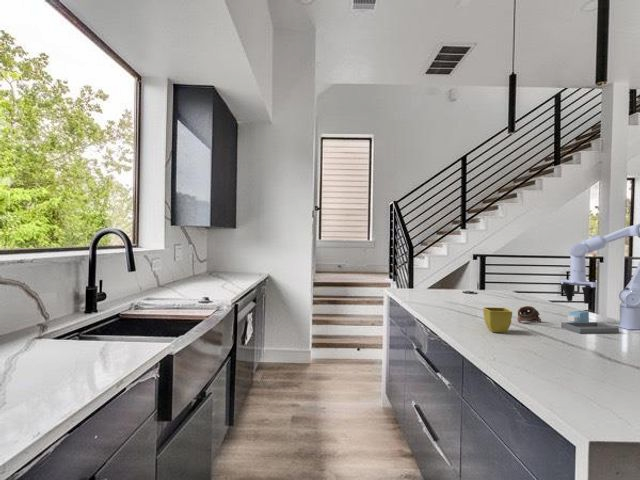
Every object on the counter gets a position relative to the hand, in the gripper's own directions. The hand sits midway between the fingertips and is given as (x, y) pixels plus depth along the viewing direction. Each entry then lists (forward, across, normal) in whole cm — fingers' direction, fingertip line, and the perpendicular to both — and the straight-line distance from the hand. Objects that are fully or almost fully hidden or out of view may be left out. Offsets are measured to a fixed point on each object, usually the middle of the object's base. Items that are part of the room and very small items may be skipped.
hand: (578, 302), depth 176 cm
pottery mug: (+10, -11, -17) cm, 22 cm away
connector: (+9, 0, +1) cm, 9 cm away
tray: (+9, +10, -8) cm, 16 cm away
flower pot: (+10, -2, -44) cm, 45 cm away
